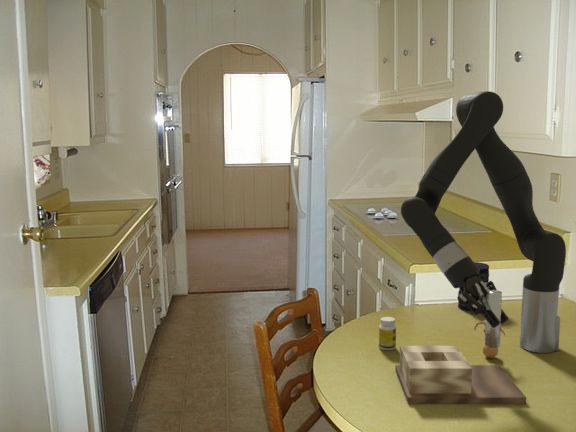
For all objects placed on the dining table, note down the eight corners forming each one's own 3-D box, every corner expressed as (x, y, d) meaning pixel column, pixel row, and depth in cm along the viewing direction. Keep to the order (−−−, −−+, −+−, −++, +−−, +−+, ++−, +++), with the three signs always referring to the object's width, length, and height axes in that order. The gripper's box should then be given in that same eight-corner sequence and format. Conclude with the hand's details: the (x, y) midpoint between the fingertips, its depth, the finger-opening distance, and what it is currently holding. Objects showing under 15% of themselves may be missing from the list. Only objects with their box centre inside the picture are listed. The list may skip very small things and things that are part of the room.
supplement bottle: (395, 351, 164) (396, 322, 163) (378, 350, 165) (378, 321, 164) (395, 345, 169) (396, 316, 167) (379, 343, 170) (379, 315, 168)
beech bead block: (455, 368, 148) (456, 345, 147) (471, 393, 134) (472, 368, 134) (399, 368, 149) (399, 345, 148) (409, 393, 135) (410, 368, 134)
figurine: (508, 358, 158) (510, 315, 156) (501, 365, 153) (503, 321, 151) (477, 351, 163) (479, 309, 161) (469, 358, 158) (471, 315, 156)
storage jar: (452, 304, 205) (453, 262, 203) (477, 302, 208) (479, 261, 205) (467, 313, 196) (468, 269, 193) (493, 311, 198) (495, 267, 196)
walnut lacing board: (499, 370, 150) (499, 365, 150) (526, 403, 132) (526, 397, 132) (395, 370, 151) (395, 365, 151) (407, 403, 133) (407, 397, 133)
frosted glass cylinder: (497, 342, 142) (499, 289, 140) (501, 347, 138) (503, 294, 136) (482, 342, 142) (484, 290, 140) (487, 347, 138) (488, 294, 136)
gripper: (450, 260, 137) (497, 322, 130) (480, 250, 147) (526, 308, 140) (430, 279, 142) (475, 339, 135) (461, 268, 152) (504, 324, 145)
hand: (501, 323), depth 138 cm, fingers closed on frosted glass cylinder, 3 cm apart
